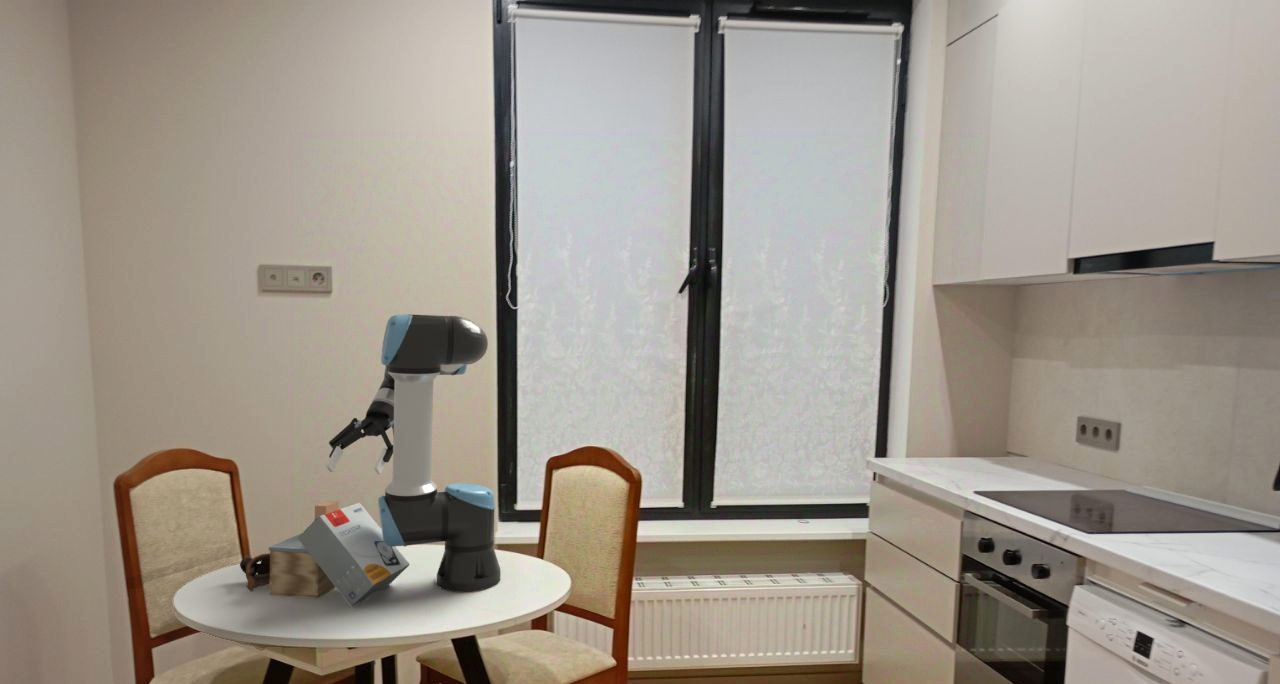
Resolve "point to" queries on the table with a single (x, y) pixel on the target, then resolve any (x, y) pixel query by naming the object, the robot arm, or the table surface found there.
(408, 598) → the table surface
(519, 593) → the table surface
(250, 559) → the pottery mug
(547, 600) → the table surface
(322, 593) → the carton
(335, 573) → the hard drive box
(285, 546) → the lid
